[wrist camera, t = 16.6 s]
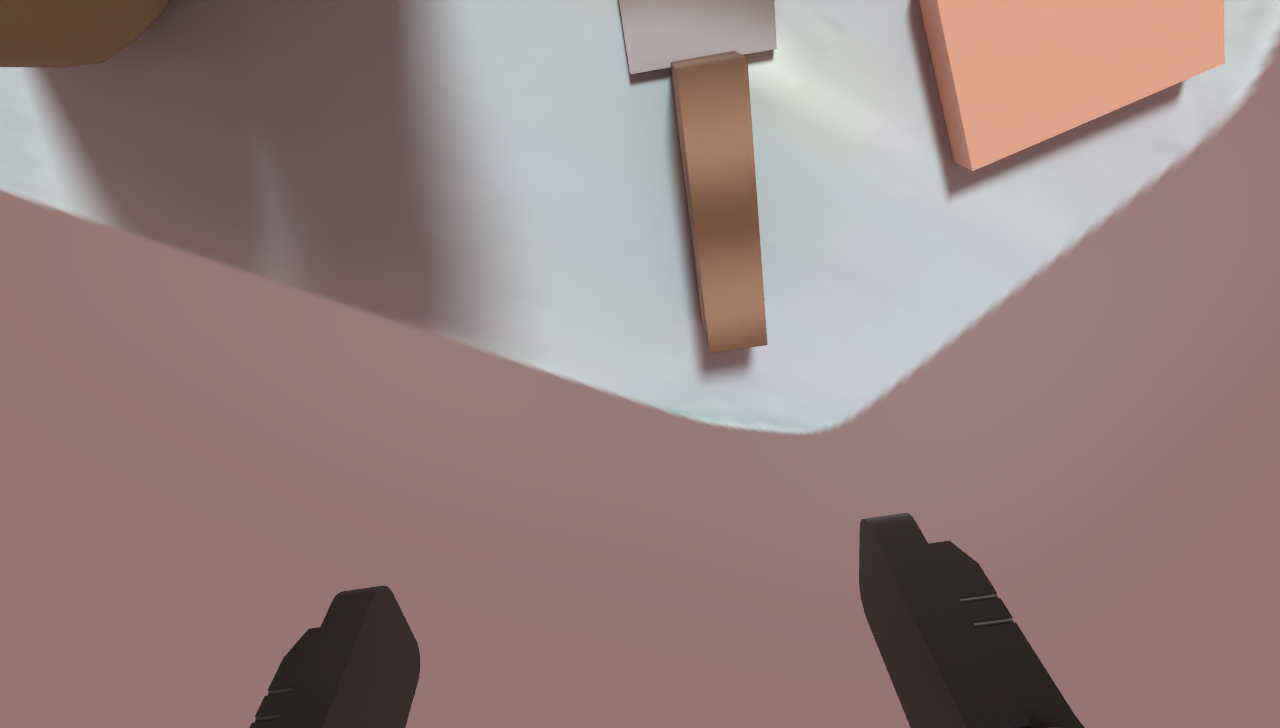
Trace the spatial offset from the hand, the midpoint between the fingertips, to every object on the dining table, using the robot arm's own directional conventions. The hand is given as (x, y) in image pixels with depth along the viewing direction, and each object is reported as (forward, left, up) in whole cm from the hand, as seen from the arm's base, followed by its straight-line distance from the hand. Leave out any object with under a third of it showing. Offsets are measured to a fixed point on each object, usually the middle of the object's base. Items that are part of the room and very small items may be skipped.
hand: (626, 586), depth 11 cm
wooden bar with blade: (-3, +4, -22) cm, 23 cm away
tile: (-4, +14, -21) cm, 26 cm away
